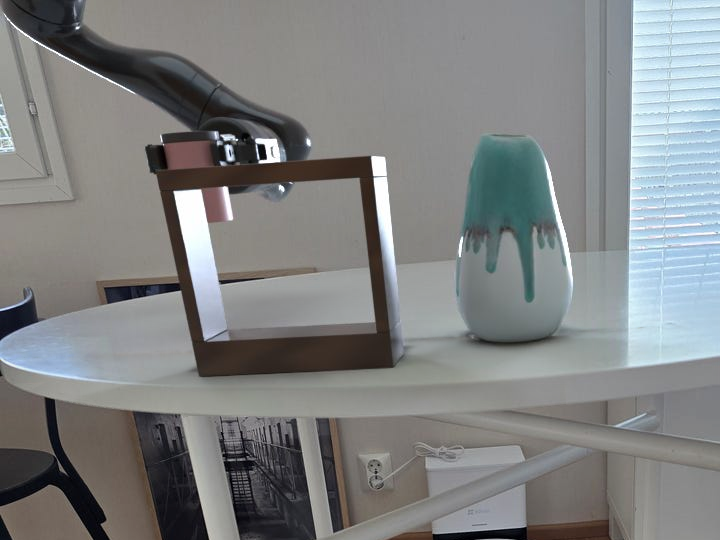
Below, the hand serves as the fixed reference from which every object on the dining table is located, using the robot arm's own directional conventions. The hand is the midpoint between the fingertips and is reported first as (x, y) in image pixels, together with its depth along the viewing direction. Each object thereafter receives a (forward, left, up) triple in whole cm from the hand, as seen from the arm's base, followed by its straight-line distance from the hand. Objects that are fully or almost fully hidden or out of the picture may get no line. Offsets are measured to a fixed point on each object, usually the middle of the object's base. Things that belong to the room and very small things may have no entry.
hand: (185, 155), depth 84 cm
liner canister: (0, +3, -6) cm, 7 cm away
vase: (+32, -4, -18) cm, 37 cm away
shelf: (+12, -13, -18) cm, 25 cm away
